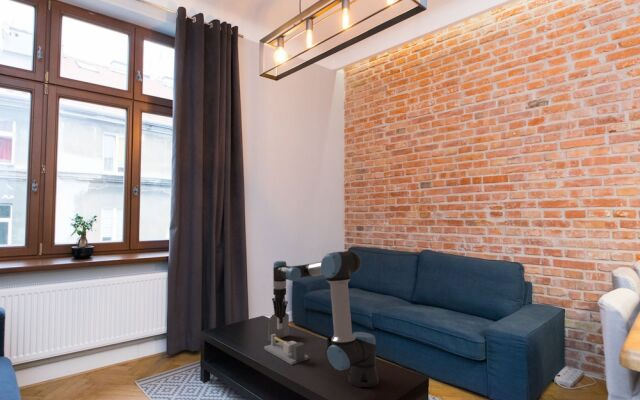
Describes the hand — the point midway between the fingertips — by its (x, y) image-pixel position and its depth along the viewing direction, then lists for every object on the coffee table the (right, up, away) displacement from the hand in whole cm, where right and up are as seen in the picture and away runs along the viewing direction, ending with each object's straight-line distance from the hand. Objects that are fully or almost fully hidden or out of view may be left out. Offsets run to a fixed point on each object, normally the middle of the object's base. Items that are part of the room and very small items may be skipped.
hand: (279, 328), depth 208 cm
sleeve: (+7, -11, -4) cm, 14 cm away
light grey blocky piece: (+3, -15, +1) cm, 16 cm away
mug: (+33, -16, -1) cm, 37 cm away
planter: (-6, -16, +28) cm, 33 cm away
